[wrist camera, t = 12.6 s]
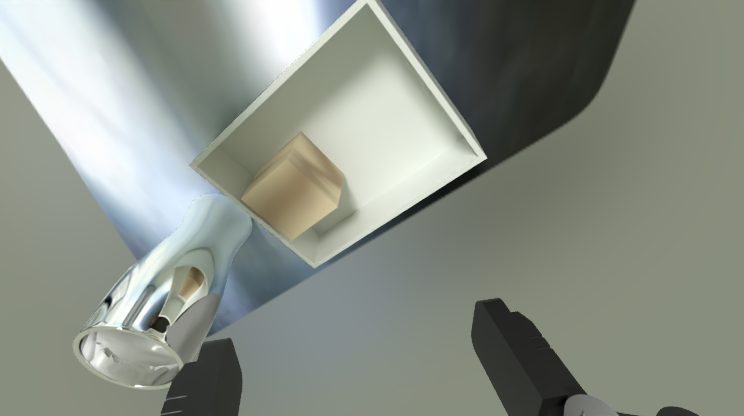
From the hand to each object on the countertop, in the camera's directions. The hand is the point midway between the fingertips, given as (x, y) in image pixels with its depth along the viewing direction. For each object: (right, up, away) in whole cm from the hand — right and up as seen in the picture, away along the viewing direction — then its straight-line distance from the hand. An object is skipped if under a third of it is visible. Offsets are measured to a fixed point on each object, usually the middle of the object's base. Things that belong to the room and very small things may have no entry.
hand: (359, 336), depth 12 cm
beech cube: (-5, +7, +18) cm, 21 cm away
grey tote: (-2, +10, +17) cm, 20 cm away
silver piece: (-14, +3, +23) cm, 27 cm away
